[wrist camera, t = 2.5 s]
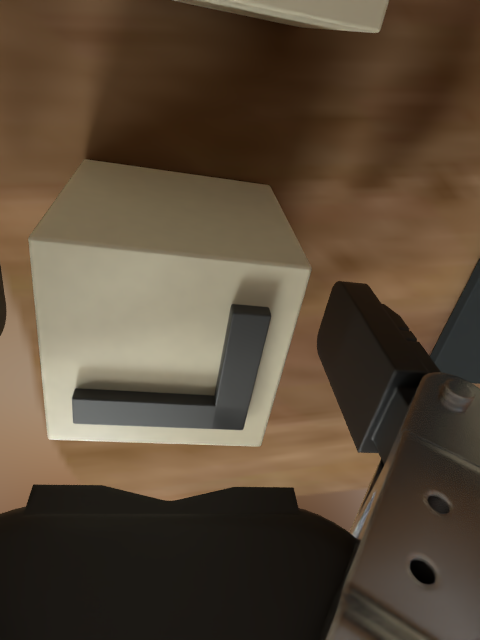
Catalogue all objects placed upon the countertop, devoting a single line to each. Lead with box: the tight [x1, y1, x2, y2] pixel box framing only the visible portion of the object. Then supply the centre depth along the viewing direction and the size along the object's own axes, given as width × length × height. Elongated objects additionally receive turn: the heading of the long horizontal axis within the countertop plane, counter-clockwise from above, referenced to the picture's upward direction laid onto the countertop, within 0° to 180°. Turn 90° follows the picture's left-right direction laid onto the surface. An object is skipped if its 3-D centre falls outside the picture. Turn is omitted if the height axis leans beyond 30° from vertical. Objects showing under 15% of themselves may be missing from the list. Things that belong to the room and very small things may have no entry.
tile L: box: [28, 159, 312, 446], centre depth 10 cm, size 5×5×5 cm
